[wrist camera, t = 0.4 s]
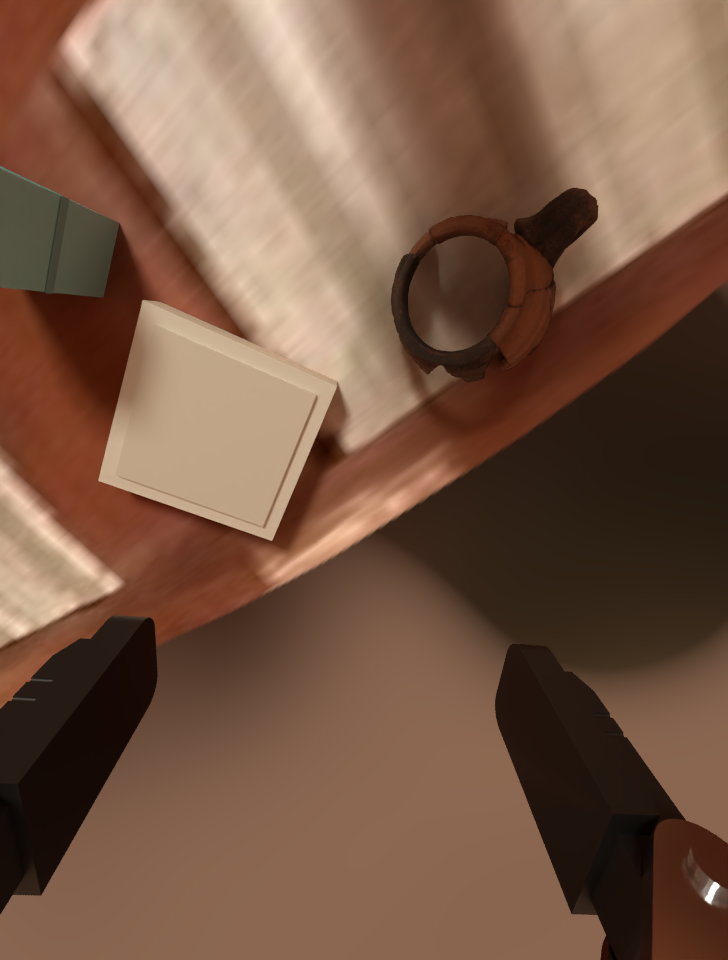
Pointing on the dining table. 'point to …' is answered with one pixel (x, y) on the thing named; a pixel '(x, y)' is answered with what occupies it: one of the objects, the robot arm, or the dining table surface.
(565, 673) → the robot arm
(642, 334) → the dining table surface
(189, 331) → the display plinth
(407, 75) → the dining table surface
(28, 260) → the teal rectangular box
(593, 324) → the dining table surface
